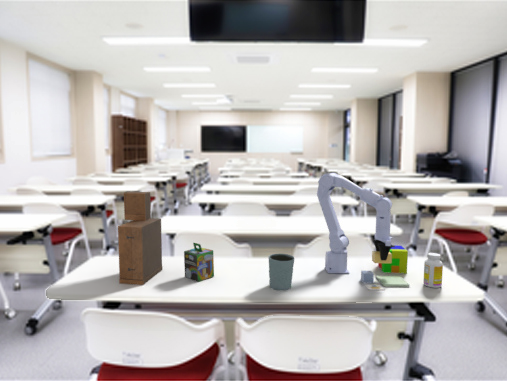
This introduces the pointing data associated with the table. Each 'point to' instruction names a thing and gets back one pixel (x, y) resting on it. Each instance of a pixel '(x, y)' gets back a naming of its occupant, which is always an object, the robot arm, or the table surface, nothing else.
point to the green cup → (280, 271)
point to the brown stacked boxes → (139, 241)
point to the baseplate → (392, 281)
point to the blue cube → (367, 276)
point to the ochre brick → (377, 258)
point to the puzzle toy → (396, 261)
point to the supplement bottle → (433, 270)
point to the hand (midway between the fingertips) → (381, 258)
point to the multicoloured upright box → (199, 263)
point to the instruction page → (375, 287)
